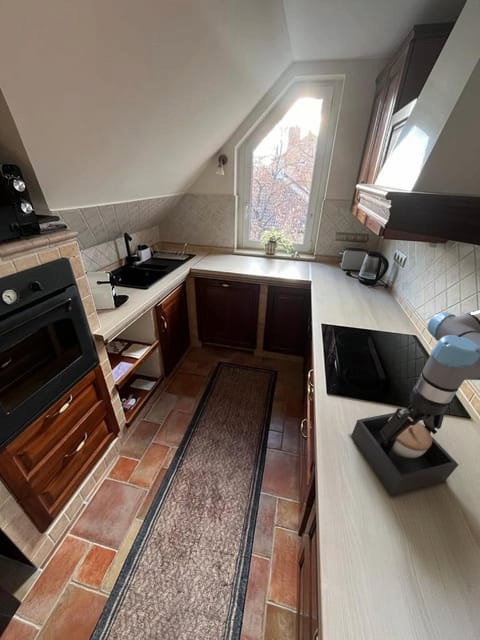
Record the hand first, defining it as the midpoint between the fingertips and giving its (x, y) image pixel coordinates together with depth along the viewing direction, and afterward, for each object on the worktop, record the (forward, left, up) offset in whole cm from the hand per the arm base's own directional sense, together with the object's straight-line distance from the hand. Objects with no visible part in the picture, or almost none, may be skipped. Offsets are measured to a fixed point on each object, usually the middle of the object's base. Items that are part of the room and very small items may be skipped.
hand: (400, 446), depth 74 cm
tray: (0, 0, -5) cm, 5 cm away
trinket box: (0, 0, -1) cm, 1 cm away
